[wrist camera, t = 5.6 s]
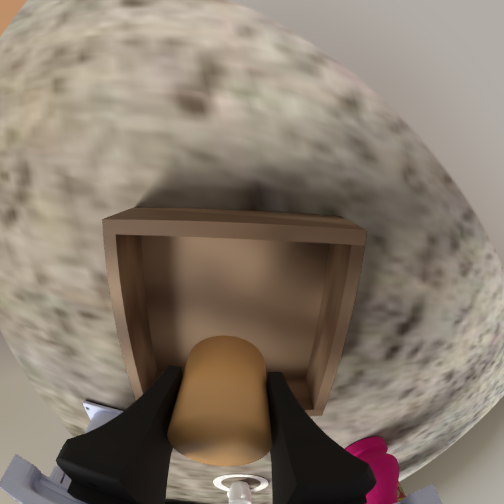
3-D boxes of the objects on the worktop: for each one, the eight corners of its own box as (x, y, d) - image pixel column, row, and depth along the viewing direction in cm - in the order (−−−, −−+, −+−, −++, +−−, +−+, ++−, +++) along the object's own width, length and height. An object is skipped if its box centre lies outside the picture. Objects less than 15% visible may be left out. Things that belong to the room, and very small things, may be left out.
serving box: (311, 378, 22) (322, 415, 17) (152, 370, 21) (137, 405, 17) (340, 216, 18) (367, 230, 13) (133, 207, 17) (102, 219, 13)
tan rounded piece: (262, 393, 14) (267, 467, 9) (191, 389, 14) (175, 461, 9) (268, 336, 13) (277, 416, 8) (184, 332, 12) (158, 408, 8)
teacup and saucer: (245, 494, 30) (246, 513, 27) (201, 483, 29) (199, 504, 25) (279, 477, 28) (281, 499, 25) (231, 466, 27) (230, 491, 23)
